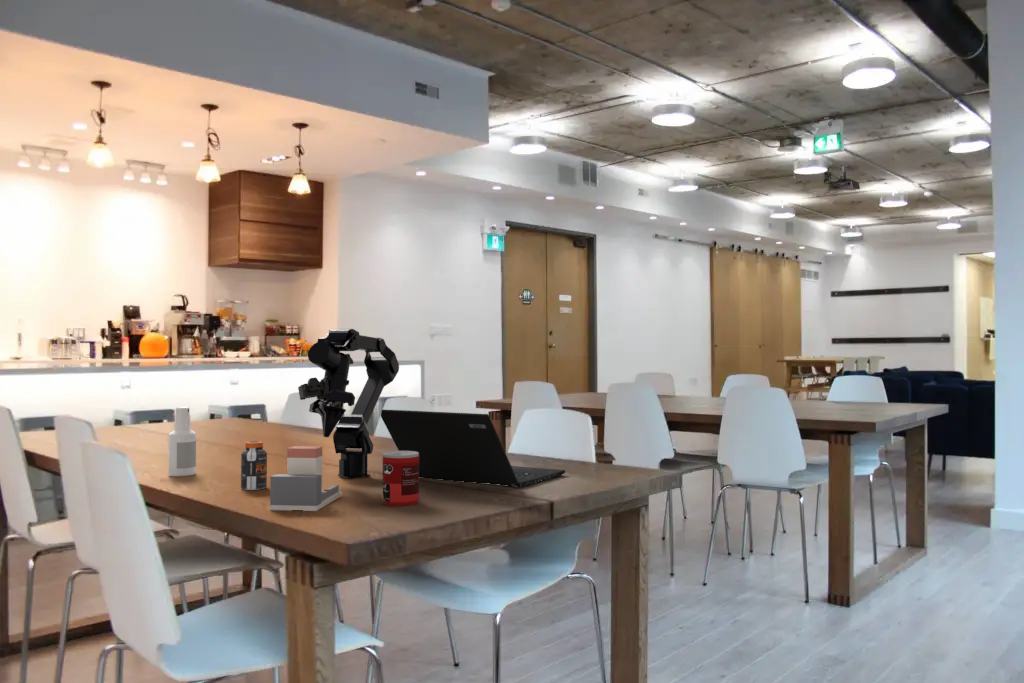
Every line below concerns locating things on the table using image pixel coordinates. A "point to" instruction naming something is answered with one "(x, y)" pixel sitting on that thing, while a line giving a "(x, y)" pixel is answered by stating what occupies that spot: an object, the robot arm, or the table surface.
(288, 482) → the grey and white holder
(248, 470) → the pill bottle
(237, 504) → the table surface
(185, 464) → the spray bottle
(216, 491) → the table surface
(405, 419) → the laptop
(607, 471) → the table surface
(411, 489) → the canned food
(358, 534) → the table surface
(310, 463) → the cream and pink block
